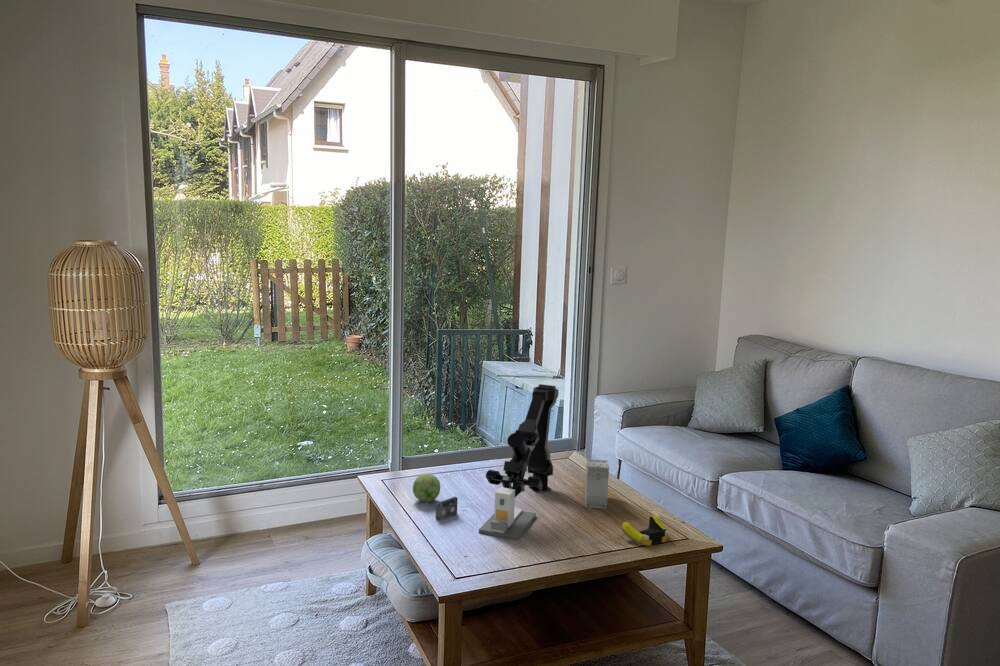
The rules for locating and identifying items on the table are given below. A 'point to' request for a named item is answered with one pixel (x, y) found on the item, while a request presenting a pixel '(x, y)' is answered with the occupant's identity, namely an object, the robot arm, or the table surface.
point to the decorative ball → (426, 487)
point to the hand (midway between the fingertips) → (507, 504)
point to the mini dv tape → (446, 508)
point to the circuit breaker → (596, 483)
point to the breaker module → (505, 505)
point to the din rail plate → (501, 529)
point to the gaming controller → (647, 532)
